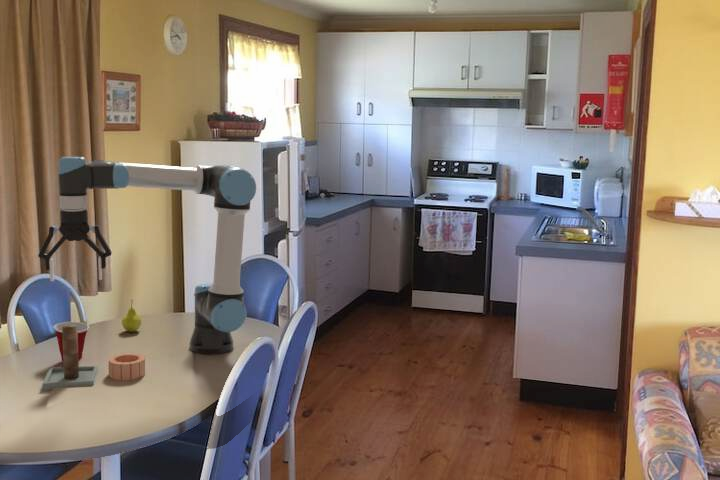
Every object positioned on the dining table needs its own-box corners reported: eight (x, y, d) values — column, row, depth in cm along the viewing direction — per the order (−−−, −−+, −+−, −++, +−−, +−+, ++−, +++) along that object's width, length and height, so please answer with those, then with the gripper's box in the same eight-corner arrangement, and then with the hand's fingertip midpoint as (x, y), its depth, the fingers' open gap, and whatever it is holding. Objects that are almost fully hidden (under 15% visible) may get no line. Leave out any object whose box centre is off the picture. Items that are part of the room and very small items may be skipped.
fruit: (137, 334, 269) (137, 302, 268) (119, 333, 269) (119, 302, 268) (143, 329, 276) (143, 298, 274) (125, 328, 276) (125, 297, 274)
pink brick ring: (145, 370, 232) (145, 352, 231) (144, 382, 222) (144, 363, 221) (110, 372, 229) (110, 353, 228) (107, 384, 219) (107, 365, 218)
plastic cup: (78, 368, 232) (77, 331, 230) (47, 364, 234) (46, 328, 232) (96, 357, 242) (95, 322, 240) (66, 354, 244) (66, 319, 242)
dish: (98, 372, 229) (98, 365, 228) (93, 388, 215) (93, 380, 215) (50, 374, 225) (50, 367, 225) (42, 390, 212) (42, 383, 212)
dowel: (79, 374, 223) (78, 323, 220) (78, 379, 219) (76, 327, 216) (65, 375, 222) (63, 324, 219) (63, 380, 218) (61, 328, 215)
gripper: (118, 207, 222) (121, 275, 225) (30, 208, 215) (33, 278, 219) (117, 210, 215) (119, 281, 218) (25, 211, 208) (29, 284, 212)
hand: (76, 279), depth 218 cm, fingers open, 13 cm apart
